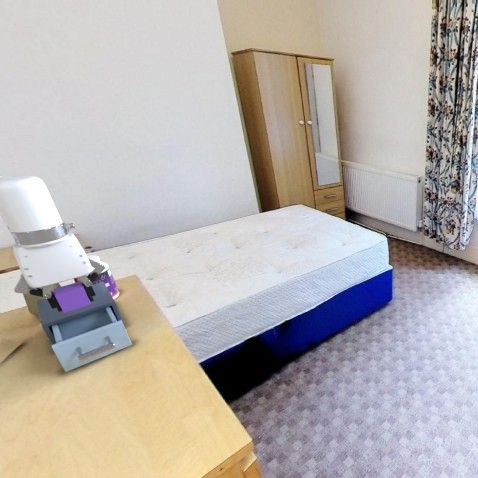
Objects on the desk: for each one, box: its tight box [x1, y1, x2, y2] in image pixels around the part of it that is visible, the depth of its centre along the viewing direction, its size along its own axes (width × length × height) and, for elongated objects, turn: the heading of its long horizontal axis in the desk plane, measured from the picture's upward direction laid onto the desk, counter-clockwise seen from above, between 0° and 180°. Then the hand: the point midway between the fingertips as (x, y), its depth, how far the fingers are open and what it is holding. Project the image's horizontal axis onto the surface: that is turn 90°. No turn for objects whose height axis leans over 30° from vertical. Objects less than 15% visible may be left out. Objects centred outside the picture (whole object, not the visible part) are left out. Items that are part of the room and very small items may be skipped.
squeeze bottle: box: [20, 273, 62, 320], centre depth 90 cm, size 8×8×18 cm
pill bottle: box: [73, 254, 120, 300], centre depth 98 cm, size 8×8×14 cm
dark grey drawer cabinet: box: [36, 282, 127, 345], centre depth 87 cm, size 15×13×9 cm
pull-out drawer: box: [51, 307, 133, 373], centre depth 79 cm, size 19×12×7 cm, turn 51°
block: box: [53, 281, 91, 313], centre depth 76 cm, size 5×5×5 cm
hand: (75, 303), depth 76 cm, fingers closed on block, 4 cm apart
